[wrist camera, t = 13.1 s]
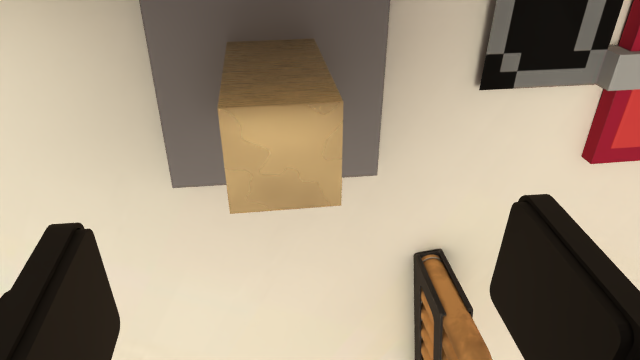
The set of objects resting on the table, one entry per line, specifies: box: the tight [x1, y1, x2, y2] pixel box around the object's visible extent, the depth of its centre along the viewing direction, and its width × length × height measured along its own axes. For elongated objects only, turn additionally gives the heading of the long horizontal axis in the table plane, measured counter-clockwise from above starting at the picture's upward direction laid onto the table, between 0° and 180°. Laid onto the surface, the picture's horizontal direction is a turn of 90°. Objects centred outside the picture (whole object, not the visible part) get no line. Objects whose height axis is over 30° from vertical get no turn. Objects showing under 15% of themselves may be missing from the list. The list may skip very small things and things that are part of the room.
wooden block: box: [217, 39, 343, 214], centre depth 20 cm, size 4×4×8 cm
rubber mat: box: [139, 0, 390, 188], centre depth 23 cm, size 11×11×1 cm
